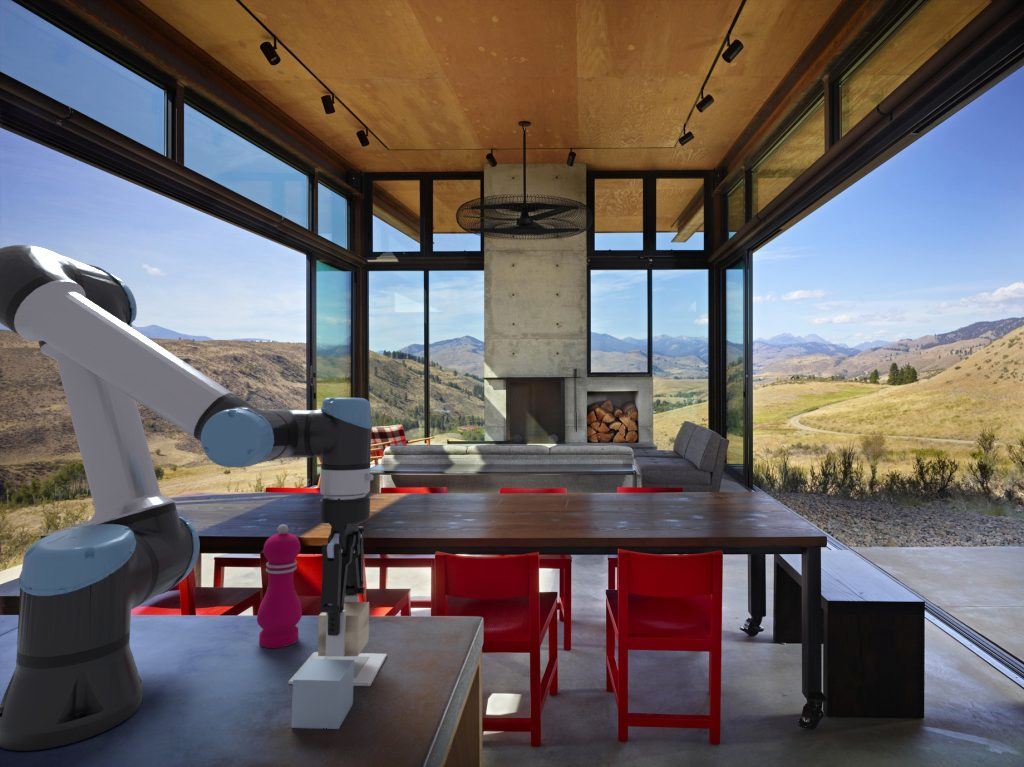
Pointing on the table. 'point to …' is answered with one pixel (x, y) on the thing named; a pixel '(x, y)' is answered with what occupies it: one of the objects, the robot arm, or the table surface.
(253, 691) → the table surface
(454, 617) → the table surface
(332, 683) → the slate cube
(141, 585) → the robot arm
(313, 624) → the table surface
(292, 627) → the pepper mill
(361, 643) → the maple cube
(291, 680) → the mat
